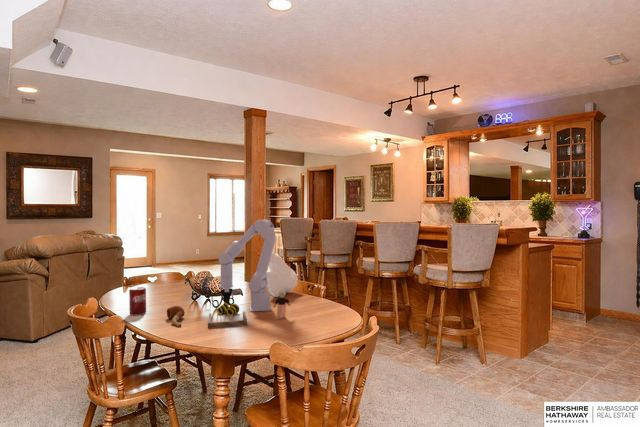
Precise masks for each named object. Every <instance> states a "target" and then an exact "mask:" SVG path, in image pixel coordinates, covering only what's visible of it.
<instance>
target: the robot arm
mask: <svg viewBox="0 0 640 427" xmlns="http://www.w3.org/2000/svg"><path fill="white" fill-rule="evenodd" d="M257 234H259V235H260V236H261V237H262V239H263V241H264V242H263V244H262V247H261V252H260V256H259V259H258V263H257V267H256V271H255V273H254V274H253V275H252V279H251V280H250V281H249V283H248V288H249V290H250V306H249V310H250V312H265V311H271V310H272V309H271V306H272V304H271V293H270V291H269V290H266V287H267V271H269V270H268V269H269V262H270V259H271V255H272V252H273V251H274V249H275V244H276V241H277V236H276V233H275V225H274V224H273V222H272V221H271V220H270V219H267V218H265V219H257V220H255V222H254V223H253V224H251V226H250V227H249V228H248V229H247V230H246V231H245V233H244V234H243V235H242V236H241V237H240V239H239V240H234V241H232V242H230V246H229V247H228V248H226V249H224V252H221V253H220V254H219V255H218V262H219V264H220V285H218V286H217V287H218V288H221V289H220V292H221V295H222V298H223V304H224V303H227V304H228V305H229V304H230V301H231V295H232V293H233V288H234V285H233V262H234V261H235V258H236V257H237V256H238V255H239V254H240V253H241V252H242V251H243V250H244V245H245V244H247V243H248V242H249V241H250V240H251V238H253V236H255V235H257Z"/></svg>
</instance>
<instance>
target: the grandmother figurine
mask: <svg viewBox="0 0 640 427" xmlns="http://www.w3.org/2000/svg"><path fill="white" fill-rule="evenodd" d="M286 294H287V293H285V291H283V290H280V291H279V292H278V295H279V296H278V297H279V298H278V297H277V299H275V301H274V303H273V306H272V307H273V308H276V306H277V309H276V311H277V312H276V317H275V319H276V320H281V319H284V320H285V319H287V317H286V311H287V309H286V308H287V307H286V304H287V305H288V306H291V303H290V301H289V300H290V299H287V298H286V297H285V296H286ZM277 304H278V305H277Z"/></svg>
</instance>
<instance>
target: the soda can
mask: <svg viewBox="0 0 640 427" xmlns="http://www.w3.org/2000/svg"><path fill="white" fill-rule="evenodd" d="M128 294H129V298H128V301H129V310H128V311H129V314H130V316H142V315H145V314H147V289H146V287H144V286H143V287H142V286H141V287H137V286H136V287H131V288H129V293H128Z"/></svg>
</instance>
